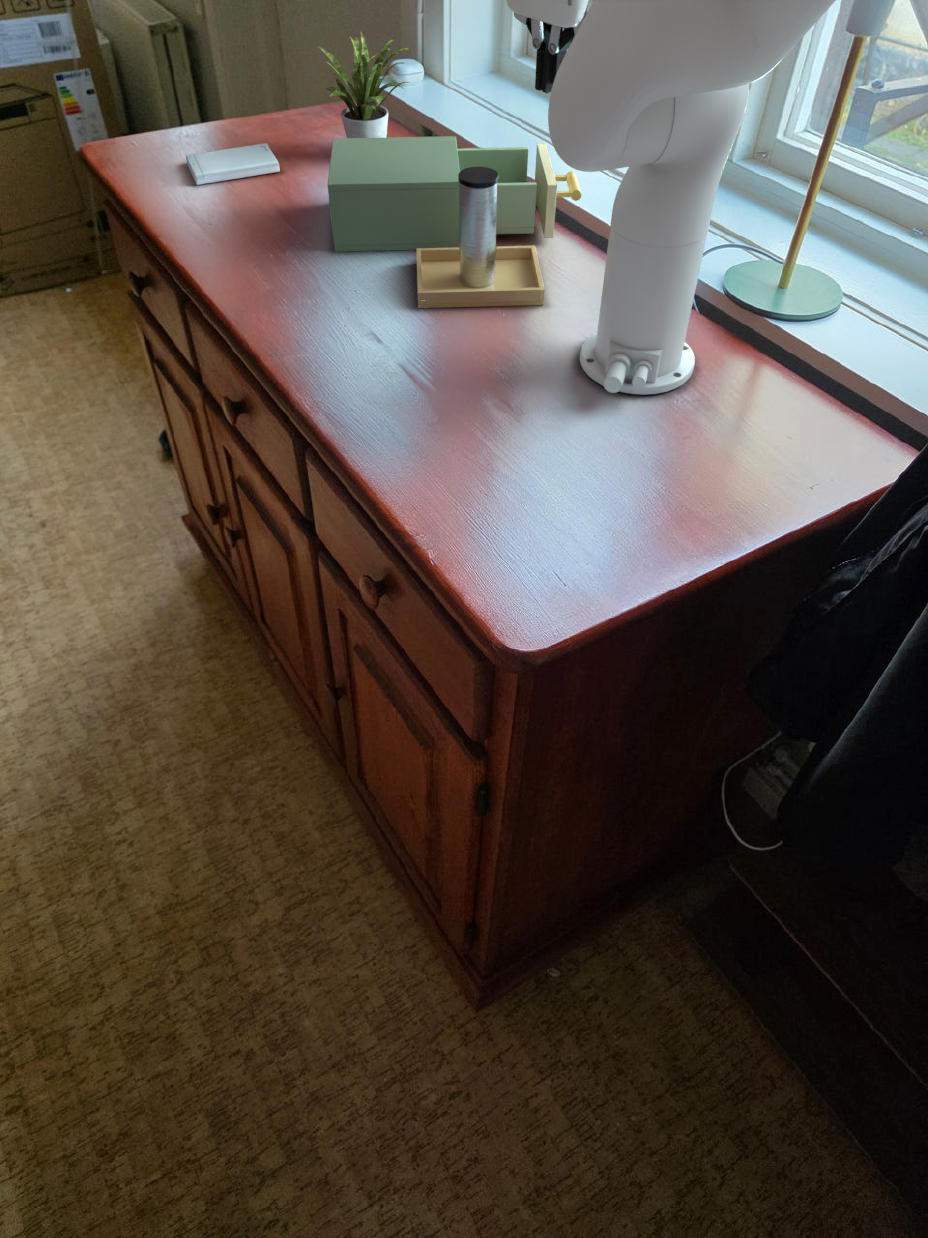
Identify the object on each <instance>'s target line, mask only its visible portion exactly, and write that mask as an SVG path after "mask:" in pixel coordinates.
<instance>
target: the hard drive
mask: <svg viewBox="0 0 928 1238" xmlns="http://www.w3.org/2000/svg"><path fill="white" fill-rule="evenodd" d="M185 160H186V161H185V162H186V164H187V166H188V169H189V171H190V173H191V176H192V178H193V180H194V182H195V184H196V185H197V186H199V185H206V184H212V183H218V182H225V181H230V180H237V179H242V178H249V177H255V176H261V175H267V174H274V173H280V172H281V169H280V163H279V161H278V159H277V158H276V155H275V154H274V153H273V151H272V150H271V148H270V146H269V145H268V143H267V142H264V143H258V144H252V145H245V146H237V147H232V148H225V149H224V148H223V149H218V150H212V151H211V150H210V151H205V152H198V153H192V154H186V155H185ZM205 177H207V178H205ZM195 178H196V179H195Z"/></svg>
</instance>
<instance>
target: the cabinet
mask: <svg viewBox="0 0 928 1238" xmlns="http://www.w3.org/2000/svg"><path fill="white" fill-rule="evenodd" d="M331 144H332V145H331V146H332V147H331V153H330V161H329V169H328V176H327V194H328V202H329V203H328V204H329V209H330V210H329V211H330V218H331V219H330V220H331V229H332V239H333V245H334V252H336V253H337V252H339V253H340V252H376V251H377V252H379V251H416V248H455V247H460V246H459V181H458V174H459V172H460V169H459V160H458V150H457V148H458V143H457V136H456V135H450V136H449V135H446V136H445V135H443V136H441V135H440V136H396V137H395V136H394V137H393V136H391V137H388V136H386V138H347V137H343V138H341V137H340V138H338V137H337V138H336V137H335V138H333V139H332V143H331Z"/></svg>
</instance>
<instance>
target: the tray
mask: <svg viewBox="0 0 928 1238" xmlns="http://www.w3.org/2000/svg"><path fill="white" fill-rule="evenodd" d="M415 254H416V255H415V257H416V287H417V290H416V291H417V308H418V309H437V308H439V309H441V308H475V307H476V308H477V307H481V308H482V307H511V306H512V307H517V306H519V307H520V306H521V307H522V306H544V304H545V291H546V289H545V286H544V281H543V277H542V272H541V267H540V262H539V258H538V253H537V248H536V245H505V246H504V245H503V246H502V245H501V246H499V245H498V246H497V245H496V257H495V281H494V282H493V284H491V285H490V286H487V287H483V288H472V287H468V286H465V285H463V284H462V283H461V282H460V247H455V248H416V250H415ZM421 300H425V301H421Z"/></svg>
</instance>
